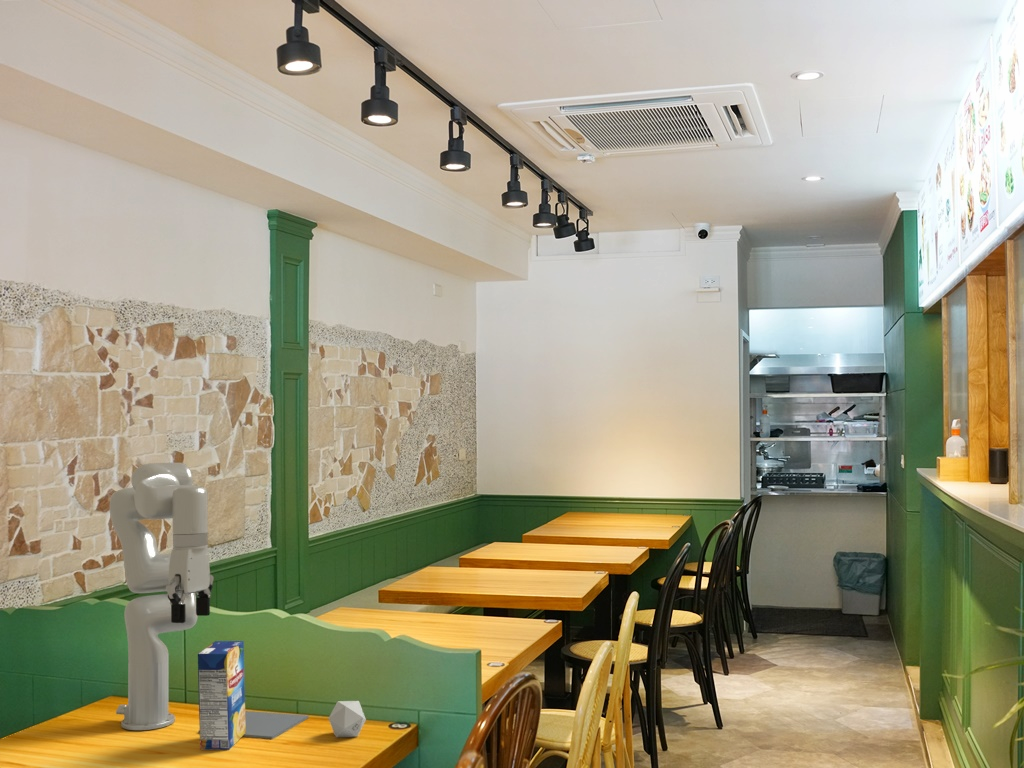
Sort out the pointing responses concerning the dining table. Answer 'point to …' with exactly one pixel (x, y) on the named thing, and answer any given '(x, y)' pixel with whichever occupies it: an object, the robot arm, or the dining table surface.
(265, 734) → the mat
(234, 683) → the beverage box
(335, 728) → the die
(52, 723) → the dining table surface
